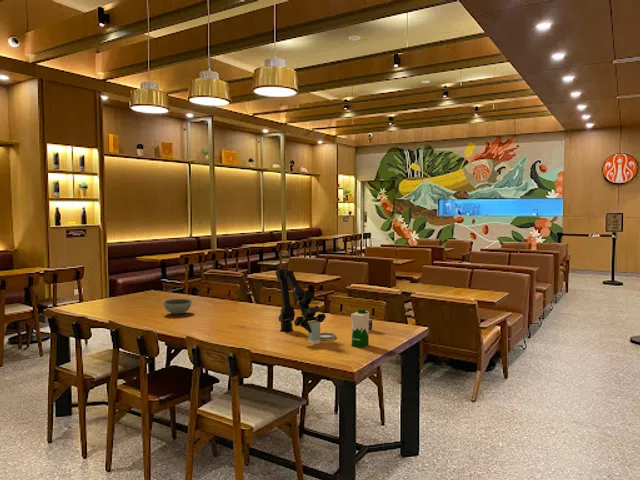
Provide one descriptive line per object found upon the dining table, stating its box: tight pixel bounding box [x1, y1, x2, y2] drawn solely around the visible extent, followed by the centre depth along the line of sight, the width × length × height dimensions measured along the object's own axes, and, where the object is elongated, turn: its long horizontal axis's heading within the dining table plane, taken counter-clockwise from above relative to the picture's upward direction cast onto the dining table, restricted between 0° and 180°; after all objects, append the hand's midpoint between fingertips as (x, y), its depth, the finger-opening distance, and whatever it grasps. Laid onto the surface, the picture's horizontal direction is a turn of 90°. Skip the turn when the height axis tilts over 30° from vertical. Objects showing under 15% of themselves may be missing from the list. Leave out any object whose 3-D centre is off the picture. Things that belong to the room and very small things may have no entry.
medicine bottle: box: [365, 310, 373, 332], centre depth 307 cm, size 7×7×12 cm
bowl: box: [162, 298, 193, 316], centre depth 363 cm, size 21×21×10 cm
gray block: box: [307, 321, 321, 345], centre depth 278 cm, size 5×5×12 cm
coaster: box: [320, 332, 337, 341], centre depth 290 cm, size 12×12×2 cm
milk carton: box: [350, 308, 370, 348], centre depth 272 cm, size 9×9×20 cm
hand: (315, 331), depth 277 cm, fingers open, 6 cm apart
